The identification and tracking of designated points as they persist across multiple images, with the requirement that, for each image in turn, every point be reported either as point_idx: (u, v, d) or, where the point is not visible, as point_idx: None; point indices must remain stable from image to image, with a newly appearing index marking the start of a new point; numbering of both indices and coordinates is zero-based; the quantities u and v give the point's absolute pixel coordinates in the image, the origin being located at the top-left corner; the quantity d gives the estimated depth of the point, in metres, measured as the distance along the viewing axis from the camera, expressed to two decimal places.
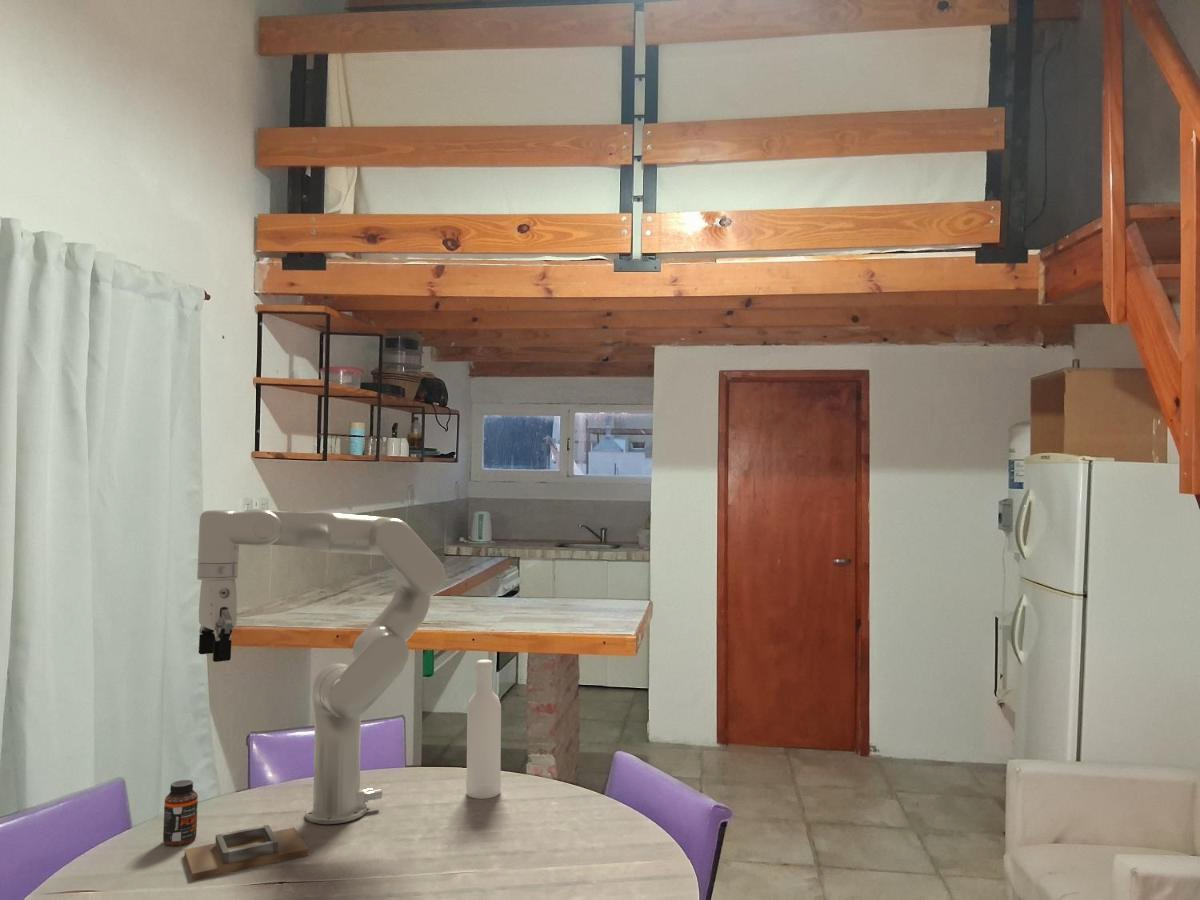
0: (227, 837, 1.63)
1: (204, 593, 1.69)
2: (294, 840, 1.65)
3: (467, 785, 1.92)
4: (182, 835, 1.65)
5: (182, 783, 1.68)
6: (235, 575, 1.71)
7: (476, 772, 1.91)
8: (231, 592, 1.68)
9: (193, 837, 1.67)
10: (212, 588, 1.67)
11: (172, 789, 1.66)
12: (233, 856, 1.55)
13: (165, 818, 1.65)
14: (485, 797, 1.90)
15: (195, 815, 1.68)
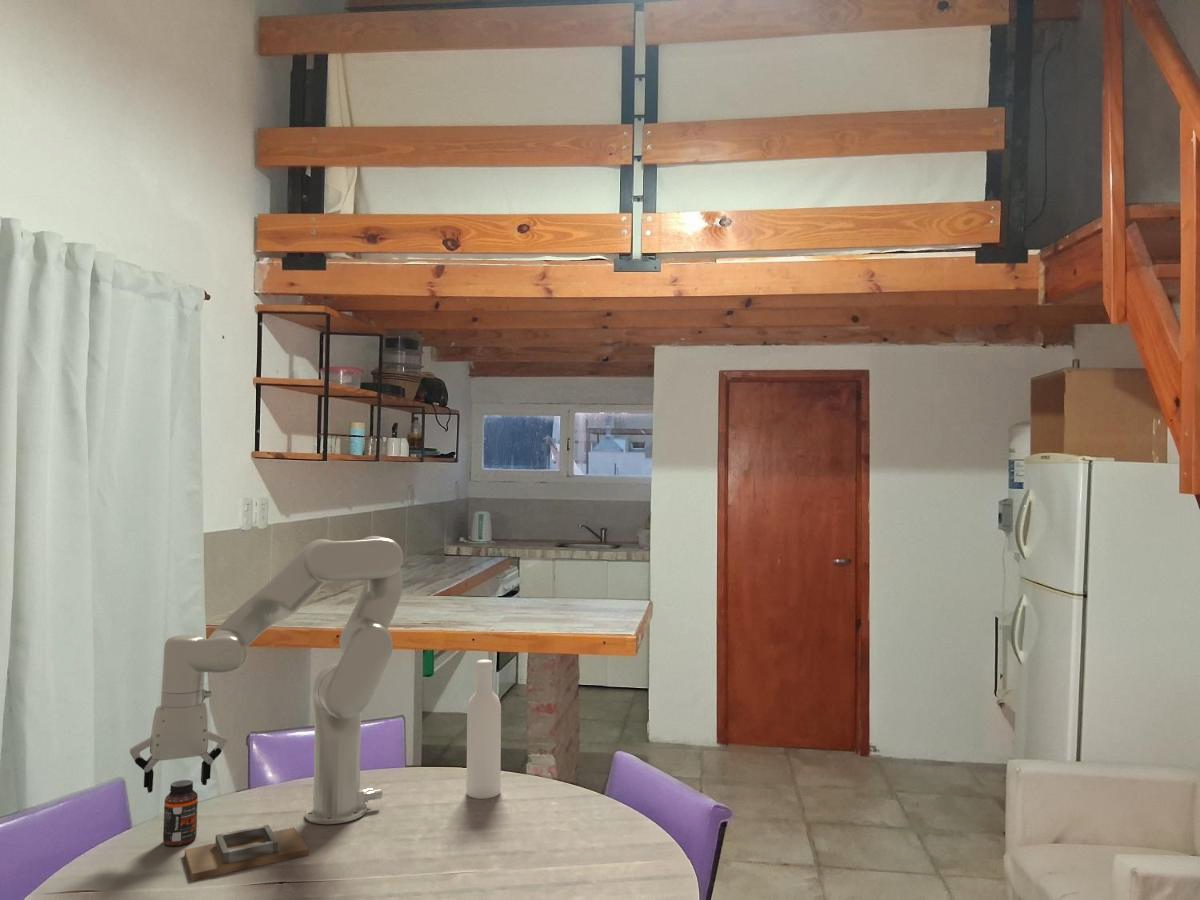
0: (227, 837, 1.63)
1: (184, 723, 1.66)
2: (294, 840, 1.65)
3: (467, 785, 1.92)
4: (182, 835, 1.65)
5: (182, 783, 1.68)
6: None
7: (476, 772, 1.91)
8: None
9: (193, 837, 1.67)
10: (204, 714, 1.69)
11: (172, 789, 1.66)
12: (233, 856, 1.55)
13: (165, 818, 1.65)
14: (485, 797, 1.90)
15: (195, 815, 1.68)
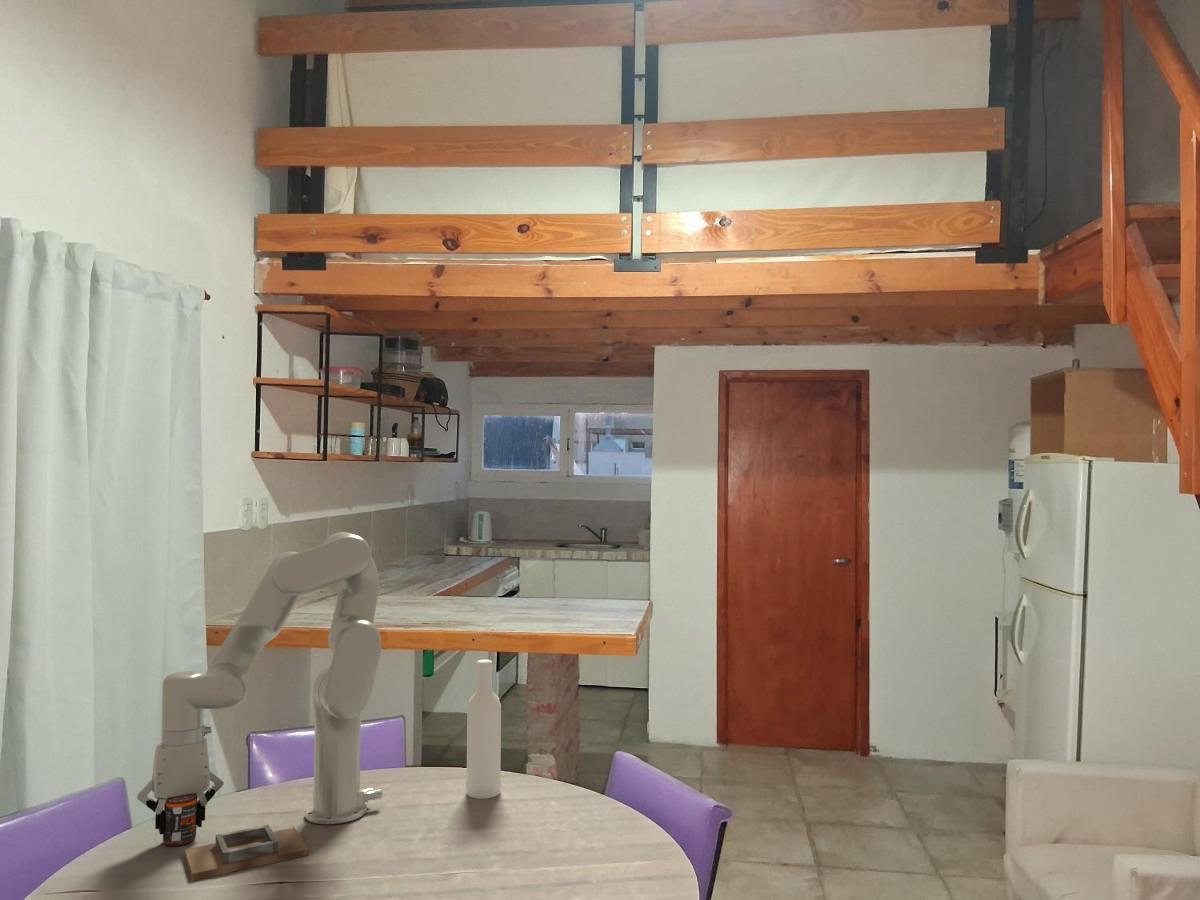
0: (227, 837, 1.63)
1: (185, 760, 1.66)
2: (294, 840, 1.65)
3: (467, 785, 1.92)
4: (182, 835, 1.65)
5: None
6: None
7: (476, 772, 1.91)
8: None
9: (193, 837, 1.67)
10: (205, 750, 1.68)
11: None
12: (233, 856, 1.55)
13: (165, 818, 1.65)
14: (485, 797, 1.90)
15: (195, 815, 1.68)
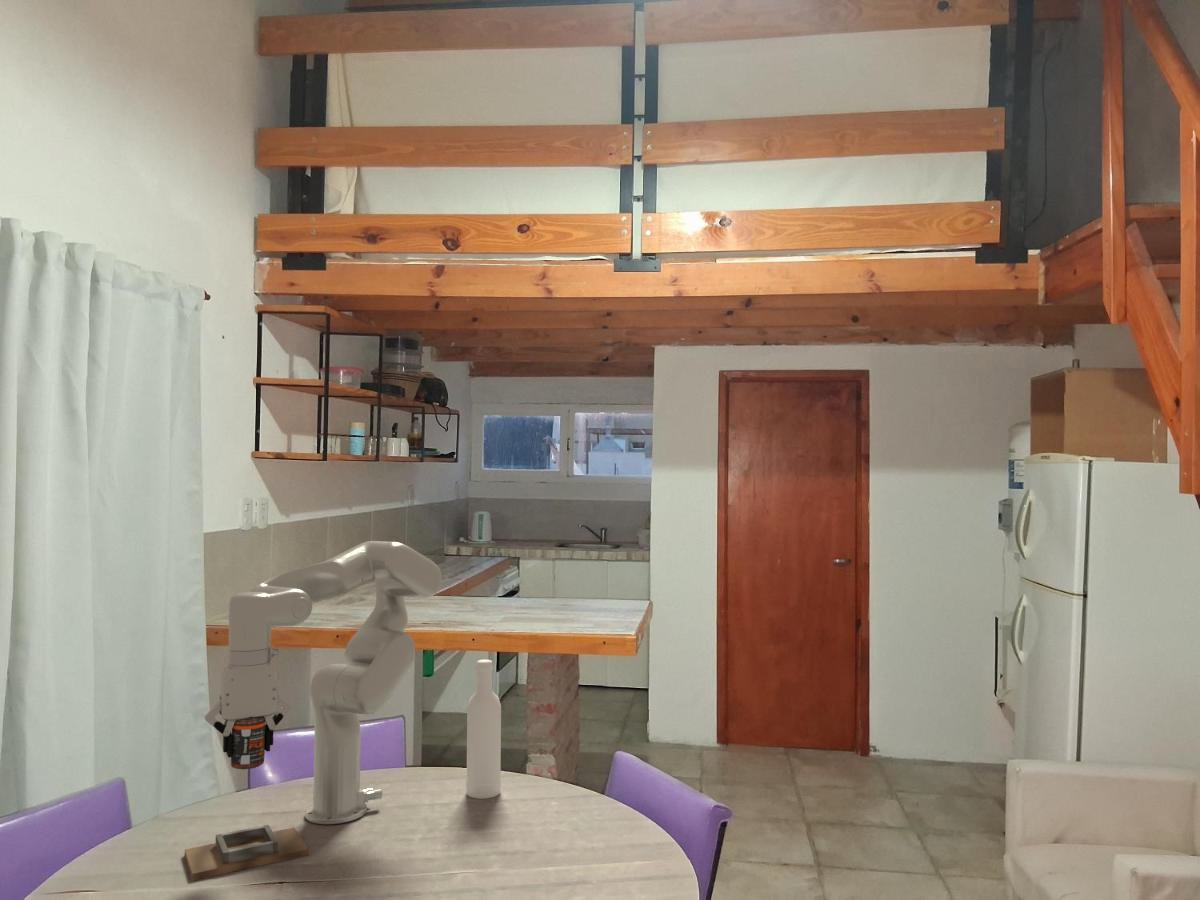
0: (227, 837, 1.63)
1: (253, 681, 1.61)
2: (294, 840, 1.65)
3: (467, 785, 1.92)
4: (251, 758, 1.59)
5: None
6: None
7: (476, 772, 1.91)
8: None
9: (262, 761, 1.61)
10: (273, 672, 1.63)
11: None
12: (233, 856, 1.55)
13: (233, 741, 1.60)
14: (485, 797, 1.90)
15: (263, 739, 1.62)
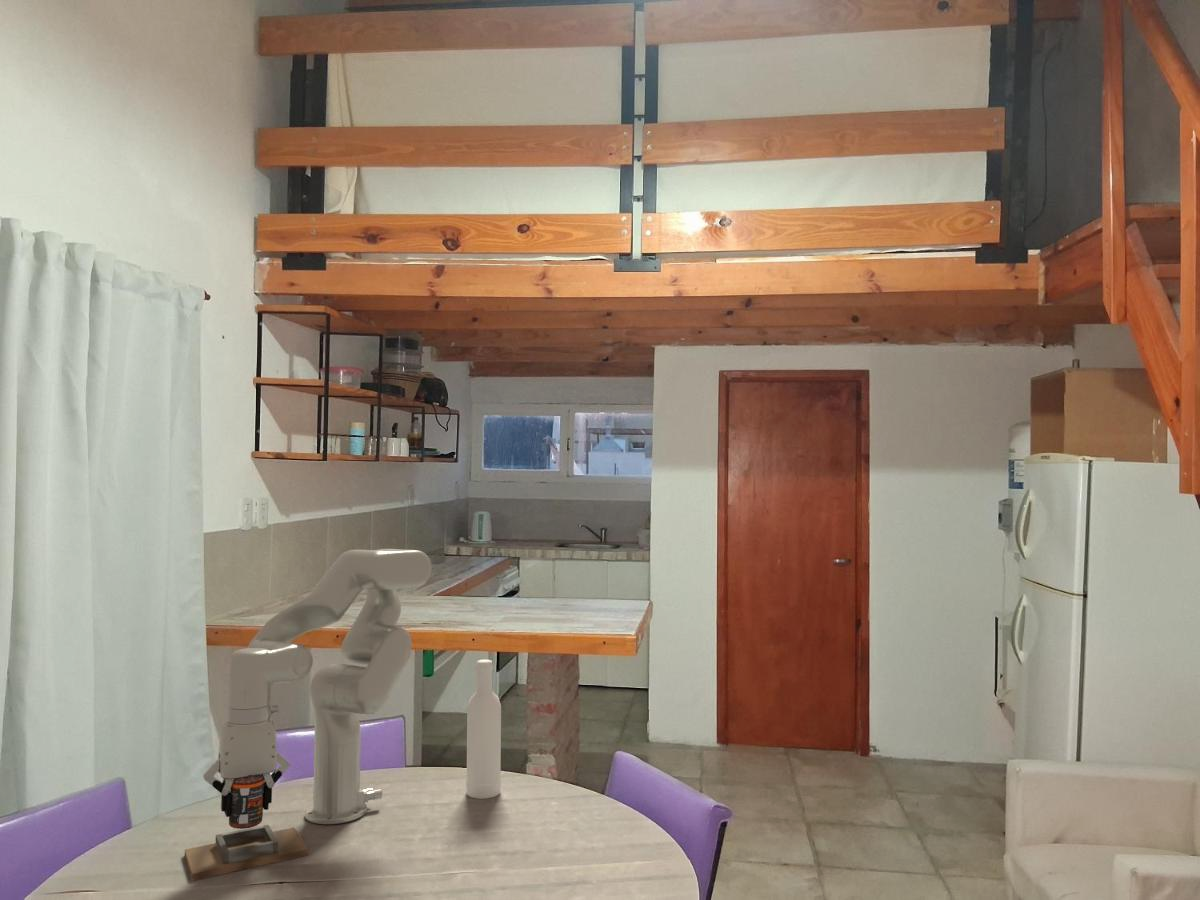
0: (227, 837, 1.63)
1: (253, 740, 1.60)
2: (294, 840, 1.65)
3: (467, 785, 1.92)
4: (249, 817, 1.58)
5: None
6: None
7: (476, 772, 1.91)
8: None
9: (260, 820, 1.60)
10: (272, 729, 1.62)
11: None
12: (233, 856, 1.55)
13: (232, 800, 1.59)
14: (485, 797, 1.90)
15: (262, 797, 1.61)
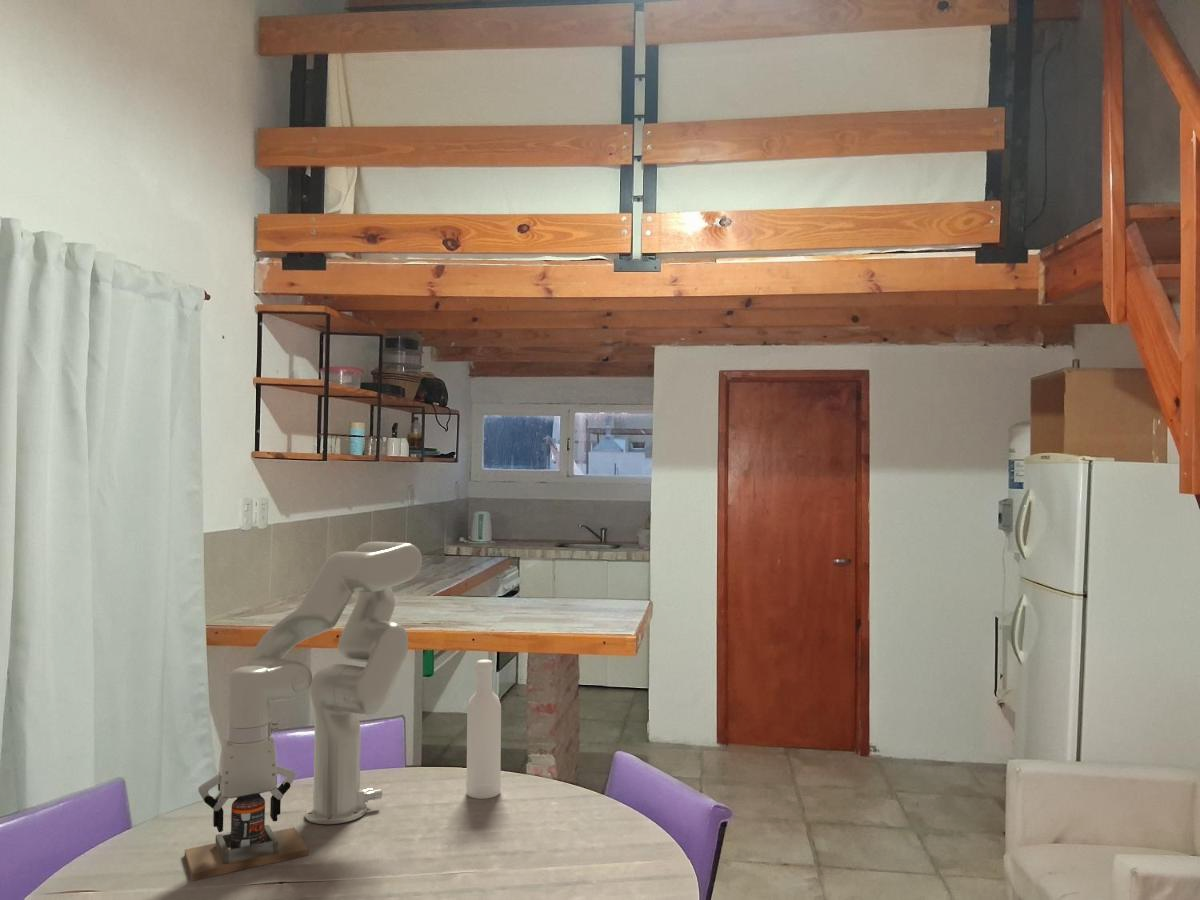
0: (227, 837, 1.63)
1: (253, 758, 1.60)
2: (294, 840, 1.65)
3: (467, 785, 1.92)
4: (251, 842, 1.59)
5: None
6: None
7: (476, 772, 1.91)
8: None
9: None
10: (272, 748, 1.62)
11: None
12: (233, 856, 1.55)
13: (233, 825, 1.59)
14: (485, 797, 1.90)
15: (263, 821, 1.61)
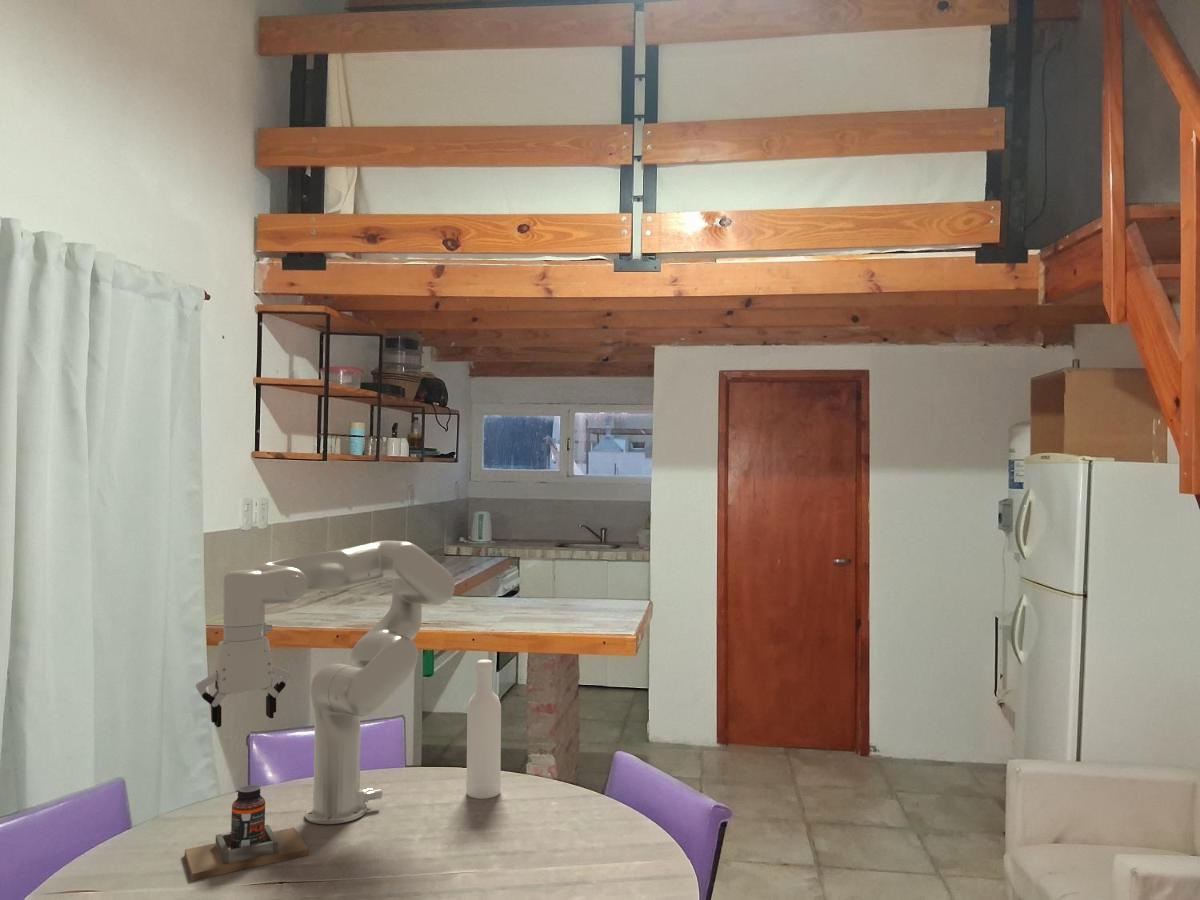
0: (227, 837, 1.63)
1: (249, 656, 1.65)
2: (294, 840, 1.65)
3: (467, 785, 1.92)
4: (251, 842, 1.59)
5: (250, 788, 1.61)
6: None
7: (476, 772, 1.91)
8: None
9: None
10: (267, 647, 1.67)
11: (240, 795, 1.60)
12: (233, 856, 1.55)
13: (233, 825, 1.59)
14: (485, 797, 1.90)
15: (263, 822, 1.61)
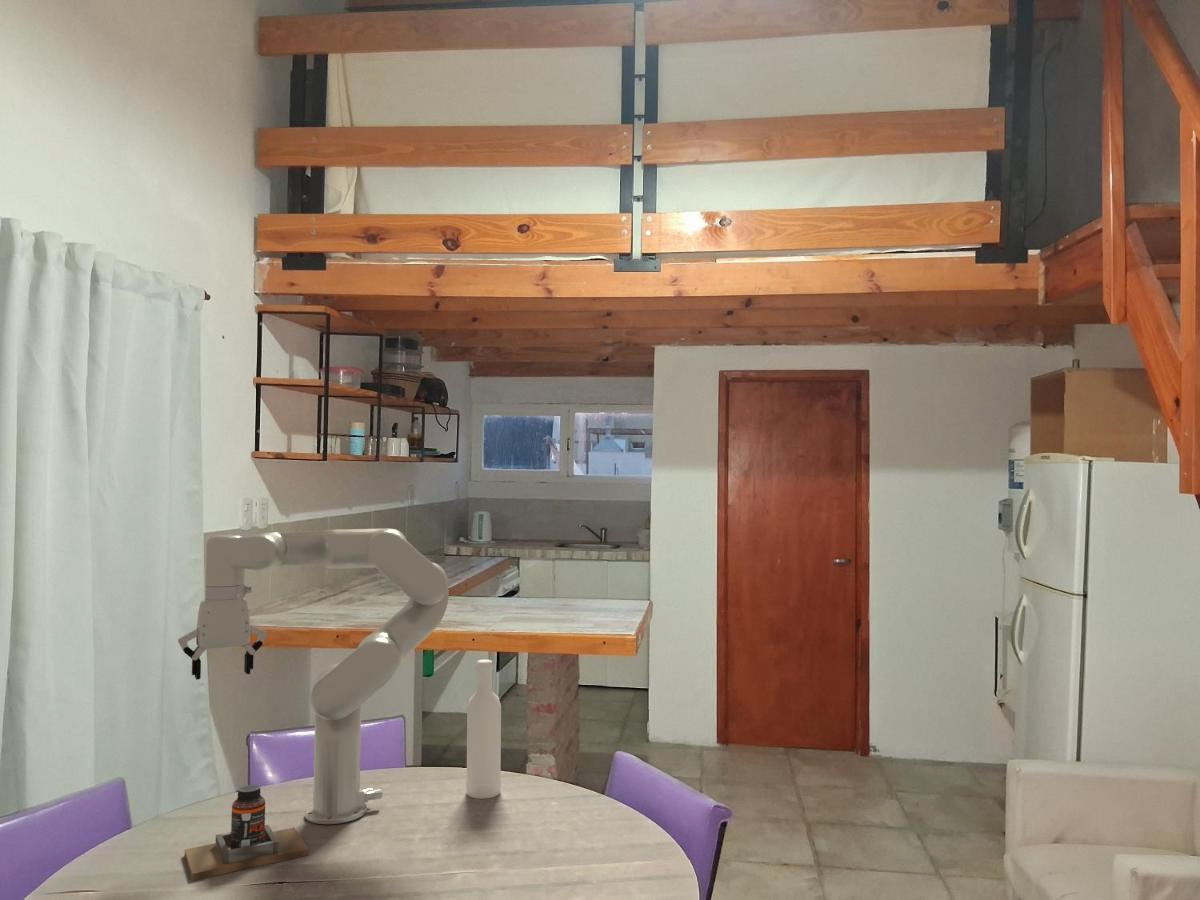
0: (227, 837, 1.63)
1: (228, 615, 1.77)
2: (294, 840, 1.65)
3: (467, 785, 1.92)
4: (251, 842, 1.59)
5: (250, 788, 1.61)
6: None
7: (476, 772, 1.91)
8: None
9: None
10: (245, 607, 1.79)
11: (240, 794, 1.60)
12: (233, 856, 1.55)
13: (233, 825, 1.59)
14: (485, 797, 1.90)
15: (263, 821, 1.61)
